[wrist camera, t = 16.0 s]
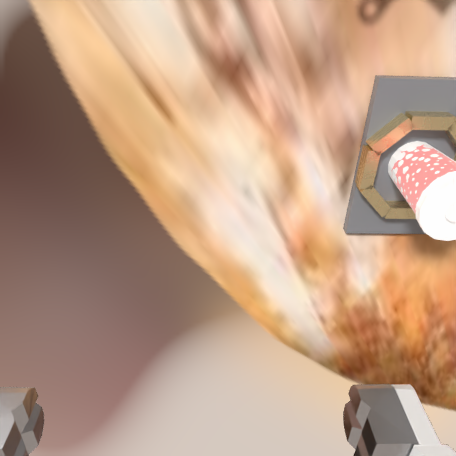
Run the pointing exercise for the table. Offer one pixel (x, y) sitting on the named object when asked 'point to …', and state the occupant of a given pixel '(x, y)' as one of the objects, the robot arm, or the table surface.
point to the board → (399, 144)
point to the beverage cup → (427, 187)
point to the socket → (386, 139)
